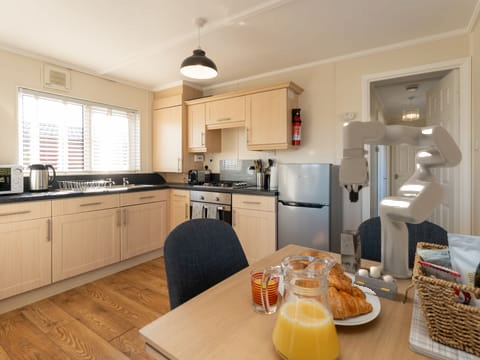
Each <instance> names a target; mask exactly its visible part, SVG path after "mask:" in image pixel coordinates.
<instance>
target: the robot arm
mask: <svg viewBox="0 0 480 360" xmlns="http://www.w3.org/2000/svg"><path fill="white" fill-rule="evenodd" d="M365 145H369V146H370V145H371V146H387V147H388V146H389V147H392V146H393V147H402V148H411V149H420V150H419V151H418V152H416V154H415V156H414V173H413V174H412V175H411V176H410V178H409V179H407V180H406V181H405V182H404V183H403V184H402V185H401V186H400V187H399V188H398V189H397V193H396V194H397V196H391V195H390V196H386V197H383V198H382V199H381V200H380V201H379V204H378V213H379V218H380V223H381V224H380V225H381V227H380V228H381V231H380V233H381V234H380V236H381V237H380V238H381V239H380V240H381V241H380V242H381V249H380V251H381V252H380V253H381V258H380V259H381V264H380V265H378V266H377V267H379V268H380V275H382V276H383V275H390V276H392V277H393V279H404V280H405V279H410V278H412V277H413V276H412V273H414V272H413V271H412V270H411V269H409V229H408V227H407V224H406V223H408V224H414V225H417V224H421V223H423V222H425V221H426V219H428V218H429V217H430V216H431V215H432V214H433V213H434V212H435V211H436V210H437V208H439V207H440V205H441V204H442V203H443V201H444V197H445V191H444V188H443V186H442V185H441V184H440V183H438V182H437V178H436V176H435V173H434V172H433V169H442V168H443V169H444V168H449V169H450V168H455V167H457V166H459V165H460V164H461V162H462V161H463V154H462V151H461V149H460V147H459V146H458V144H457V143H456V141H455V140H454V138H453V136H452V134H450V132H449V131H448V130H447V129H446V128H445V127H443V125H439V124H435V125H429V126H423V127H418V126H417V127H415V126H410V125H403V124H392V125H385V123H383V122H382V121H380V120H369V121H362V120H353V121H347V122H344V123H343V125H342V158H341V159H340V162H339V163H340V164H339V175H338V176H339V177H338V180H339V187H341V188H345V189H346V190H347V192H348V193H349V194H348V195H349V196H348V199H349V201H350V203H358V201H359V196H360V193H359V192H360V191H361V190H362V189H363V188H365V189H366V188H368V187H370V179H371V178H370V167H369V161H368V157H366V155H369V152H370V151H369V150H368V149H367V150H366V149H365ZM424 148H425V149H424Z"/></svg>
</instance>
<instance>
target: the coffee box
mask: <svg viewBox="0 0 480 360" xmlns="http://www.w3.org/2000/svg"><path fill="white" fill-rule="evenodd" d="M361 235H362V232H361V230H356V229H355V230H354V229H353V230H352V229H345V230H344V231H343V232H341V233H340V267H341V266H343V267H344V268H345V271H344V272H348V273H352V274H356V273H357V272H358V271H359V269H361V267H362V257H361V256H362V249H361V245H362V243H361V241H362V238H361V237H362V236H361Z"/></svg>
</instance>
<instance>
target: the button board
mask: <svg viewBox="0 0 480 360" xmlns="http://www.w3.org/2000/svg"><path fill="white" fill-rule="evenodd" d="M397 281H398V280H397V278H393V283H389V282H385V281H383V275H380V279H378V280H377V279H374V278H371V277H370V272H368V276H367V277H366V276H362V275H359V270H358V271H357V273H354V281H353V285H354V284H356V285H359V286H363V287H367V288H369V289H371V290H372V291H374V292H375V293H376V295H377V296H376V295H375V296H376V297H379V298H384V299H386V300H390V301H393V300H394V298H395V297H396V296H397V294H398V293H399V291H398V290H399V288H398V284H397V283H398V282H397Z"/></svg>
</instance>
